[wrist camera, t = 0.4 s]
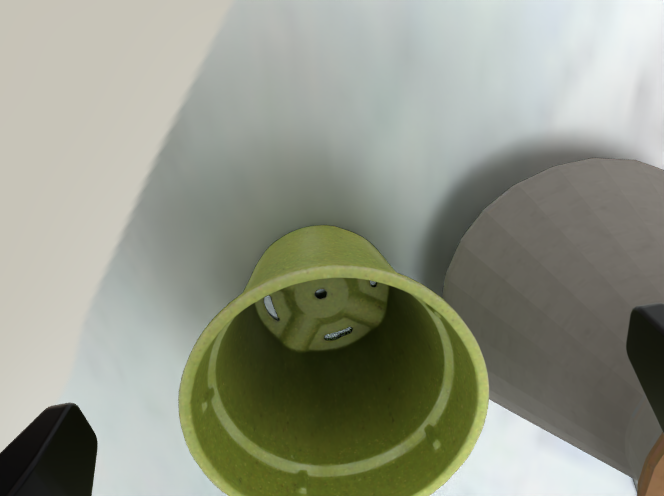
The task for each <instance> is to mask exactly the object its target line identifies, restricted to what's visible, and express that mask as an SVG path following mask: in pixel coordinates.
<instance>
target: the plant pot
mask: <svg viewBox="0 0 664 496" xmlns="http://www.w3.org/2000/svg"><path fill="white" fill-rule="evenodd" d="M370 280H371V281H375V282H377V285H376V286H375V287H372V286H371V285H370ZM319 289H325V290H326V292H327V295H326V297H325V298H322V299H319V298H317V297H316V296H315V292H316V291H317V290H319ZM268 295H269V296H271V298H272V303H273V306H274V309H275V311H276V313H277V315H278V316H277V317H278V318H279V319H280V320H279V321H277V320H275V319H273V318H272V317H271V315H270V314H269V313H268V312H267V310H266V308H265V304H264V297H266V296H268ZM348 327H352V328H353V329H352V332H351V333H349V334H347V335H345V336H342V337H340V338H338V339H336V340H330V341H329V340H325V339H324V336H325V335H326V334H331V333H334V332H338V331H340V330H343V329H346V328H348ZM178 400H179V417H180V423H181V428H182V431H183V435H184V438H185V441H186V444H187V446H188V448H189V451H190V453H191V455H192V456H193V458H194V460H195V461H196V463H197V464H198V465H199V467H200V468H201V469H202V471H203V472H204V474H205V475H206V476H207V477H208V478H209V479H210V481H211V482H212V483H213V484H214V485H215V486H216V487H217V488H219V489H220V490H221V491H222V492H224V493H226V494H227V495H228V496H429V495H431V494H432V493H434V492H435V491H436V490H437V489H439V488H440V487H441V486H442V485H444V484H445V483H446V482H447V481H448V480H449V479H450V477H451V476H452V475H453V474H454V473H455V472H456V471H457V470H458V469H459V467H460V466H461V465H462V464H463V463H464V462H465V460H466V459H467V458H468V456H469V455H470V453H471V451H472V450H473V448H474V446H475V444H476V442H477V440H478V438H479V436H480V433H481V431H482V429H483V426H484V423H485V418H486V415H487V409H488V403H489V381H488V373H487V369H486V364H485V361H484V358H483V355H482V352H481V350H480V347H479V345H478V343H477V341H476V339H475V337H474V336H473V334H472V332H471V331H470V329H469V328H468V327H467V325H466V324H465V323H464V321H463V320H462V319H461V317H460V316H459V315H458V314H457V312H456V311H455V310H454V309H453V308H452V307H451V306H450V305H449V304H448V303H447V302H446V301H445V300H444V299H443V298H441V297H440V296H438V295H437V294H436V293H434V292H433V291H431V290H430V289H428V288H427V287H425V286H424V285H422V284H421V283H419V282H417V281H415V280H413V279H411V278H409V277H407V276H404V275H401V274H399V273H396V272H395V270H394V269H393V268H392V267H391V266H390V265H389V263H388V262H387V261H386V260H385V258H384V257H383V256H382V255H381V254H380V253H379V251H378V250H377V249H376V248H375V247H374V246H373V245H372V244H371V243H370V242H369V241H367V240H366V239H364V238H363V237H361V236H359V235H357V234H355V233H353V232H350V231H347V230H345V229H342V228H339V227H335V226H328V225H318V226H309V227H304V228H301V229H298V230H295V231H293V232H290V233H288V234H286V235H285V236H283V237H281V238H280V239H278V240H277V241H276V242H274V243H273V244H272V245H271V246H270V247H269V248H268V249H267V250H266V251H265V253H264V254H263V255H262V257H261V258H260V260H259V261H258V263H257V265H256V267H255V269H254V271H253V273H252V275H251V277H250V280H249V282H248V284H247V286H246V288H245V290H244V292H243V293H242V294H241V295H239V296H238V297H237V298H235V299H234V300H233V301H232V302H230V303H229V304H228V305H227V306H226V307H225V308H224V309H222V310H221V311H220V312H219V313H218V314H217V315H216V316H215V317H214V318H213V320H212V321H211V322H210V323H209V324H208V326H207V327H206V328H205V330H204V331H203V332H202V334H201V335H200V337H199V338H198V340H197V342H196V344H195V345H194V347H193V349H192V351H191V353H190V356H189V358H188V360H187V363H186V366H185V368H184V371H183V375H182V378H181V383H180V388H179V399H178Z"/></svg>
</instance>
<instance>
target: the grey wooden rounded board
mask: <svg viewBox="0 0 664 496" xmlns="http://www.w3.org/2000/svg"><path fill="white" fill-rule="evenodd" d="M442 298H443V299H444V300H445V301H446V302H447V303H448V304H449V305H450V306H451V307H452V308H453V309H454V310H455V311H456V312H457V314H458V315H459V316H460V317H461V319H462V320H463V321H464V323H465V324H466V325H467V327H468V328H469V329H470V331H471V332H472V334H473V336H474V337H475V339H476V341H477V343H478V345H479V347H480V350H481V352H482V355H483V358H484V361H485V364H486V369H487V373H488V381H489V399H490V400H492V401H493V402H495V403H497V404H499V405H501V406H502V407H504V408H506V409H508V410H509V411H511V412H513V413H515V414H517V415H519V416H520V417H522V418H524V419H526V420H528V421H529V422H531V423H533V424H535V425H537V426H539V427H540V428H542V429H544V430H546V431H548V432H550V433H551V434H553V435H555V436H557V437H559V438H560V439H562V440H564V441H566V442H568V443H570V444H571V445H573V446H575V447H577V448H579V449H581V450H582V451H584V452H586V453H588V454H590V455H591V456H593V457H595V458H597V459H599V460H601V461H602V462H604V463H606V464H608V465H610V466H611V467H613V468H615V469H617V470H619V471H621V472H622V473H624V474H626V475H628V476H630V477H632V478H633V479H635V480H637V481H638V484H637V496H664V434H663V432H662V430H661V428H660V425H659V423H658V421H657V419H656V417H655V415H654V413H653V410H652V408H651V406H650V404H649V402H648V400H647V397H646V395H645V393H644V391H643V389H642V387H641V385H640V382H639V380H638V378H637V376H636V374H635V372H634V370H633V367H632V365H631V363H630V361H629V359H628V356H627V352H626V339H627V333H628V326H629V319H630V314H631V311H632V309H633V308H634V307H636V306H638V305H644V304H650V303H656V302H658V303H664V170H662V169H659V168H657V167H654V166H651V165H648V164H645V163H642V162H640V161H637V160H625V159H604V158H590V159H585V160H580V161H575V162H571V163H566V164H561V165H557V166H553V167H550V168H548V169H546V170H544V171H542V172H540V173H538V174H536V175H534V176H532V177H530V178H528V179H526V180H523V181H521V182H519V183H517V184H515V185H513V186H512V187H510V188H509V189H508V190H507V191H506V192H504V193H503V194H502V195H501V196H499V197H498V198H497V199H496V200H494V201H493V202H492V203H491V204H489V205H488V206H487V207H486V208H484V209H483V211H482V212H481V213H480V215H479V216H478V217H477V219H476V220H475V221H474V222H473V224H472V225H471V226H470V228H469V229H468V230H467V231H466V233H465V234H464V235H463V237H462V238H461V240H460V242H459V244H458V247H457V249H456V251H455V254H454V256H453V258H452V260H451V263H450V265H449V267H448V270H447V272H446V274H445V281H444V288H443V294H442Z"/></svg>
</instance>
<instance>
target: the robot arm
mask: <svg viewBox="0 0 664 496" xmlns="http://www.w3.org/2000/svg"><path fill="white" fill-rule="evenodd" d="M626 352H627V356H628V359H629V361H630V363H631V365H632V367H633V370H634V372H635V374H636V376H637V378H638V380H639V382H640V385H641V387H642V389H643V391H644V393H645V395H646V397H647V400H648V402H649V404H650V406H651V408H652V410H653V413H654V415H655V417H656V419H657V421H658V423H659V425H660V428H661V430H662V432H663V434H664V303H658V302H656V303H650V304H644V305H638V306H636V307H634V308H633V309H632V311H631V314H630V319H629V326H628V333H627V339H626ZM96 456H97V438H96V435H95V433H94V431H93V429H92V428H91V426H90V424H89V423H88V421H87V420H86V418H85V416H84V415H83V413H82V411H81V410H80V408H79V407H78V406H77V405H76V404H74V403H65V404H59V405H54V406H50V407H48V408H46V409H45V410H44V411H43V412H42V413H41V414H40V415H39V416H38V417H37V418H36V419H35V420H34V421H33V422H32V423H31V424H30V425H29V426H28V427H27V428H26V429H25V430H23V431H22V432H21V433H20V434H19V435H18V436H17V437H16V438H15V439H14V440H13V441H12V442H11V443H10V444H9V445H8V446H7V447H6V448H5V449H4V450H3V451H2V452H1V453H0V496H91V495H92V487H93V479H94V471H95V463H96Z"/></svg>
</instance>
